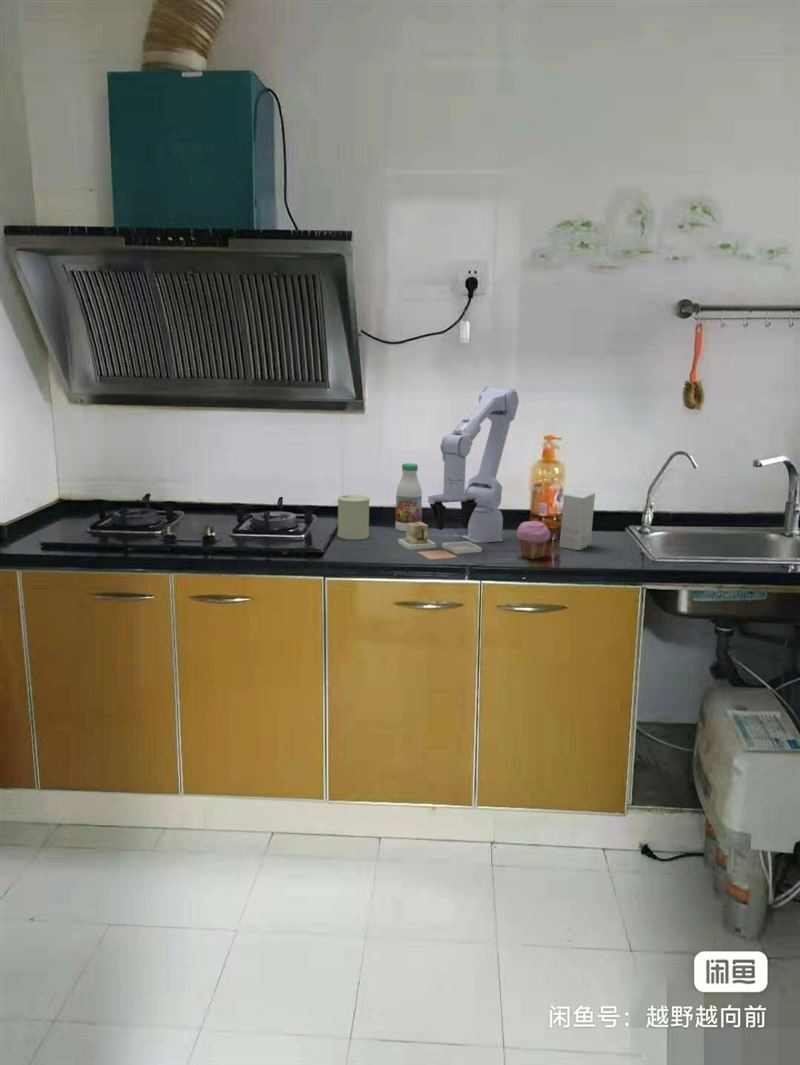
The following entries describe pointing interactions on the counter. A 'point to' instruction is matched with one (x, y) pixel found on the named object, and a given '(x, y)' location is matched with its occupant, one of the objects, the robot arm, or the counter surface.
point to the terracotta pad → (437, 554)
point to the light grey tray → (461, 547)
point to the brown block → (417, 533)
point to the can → (353, 517)
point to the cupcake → (533, 538)
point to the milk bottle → (408, 498)
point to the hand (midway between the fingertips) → (452, 528)
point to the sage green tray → (417, 546)
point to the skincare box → (577, 519)
